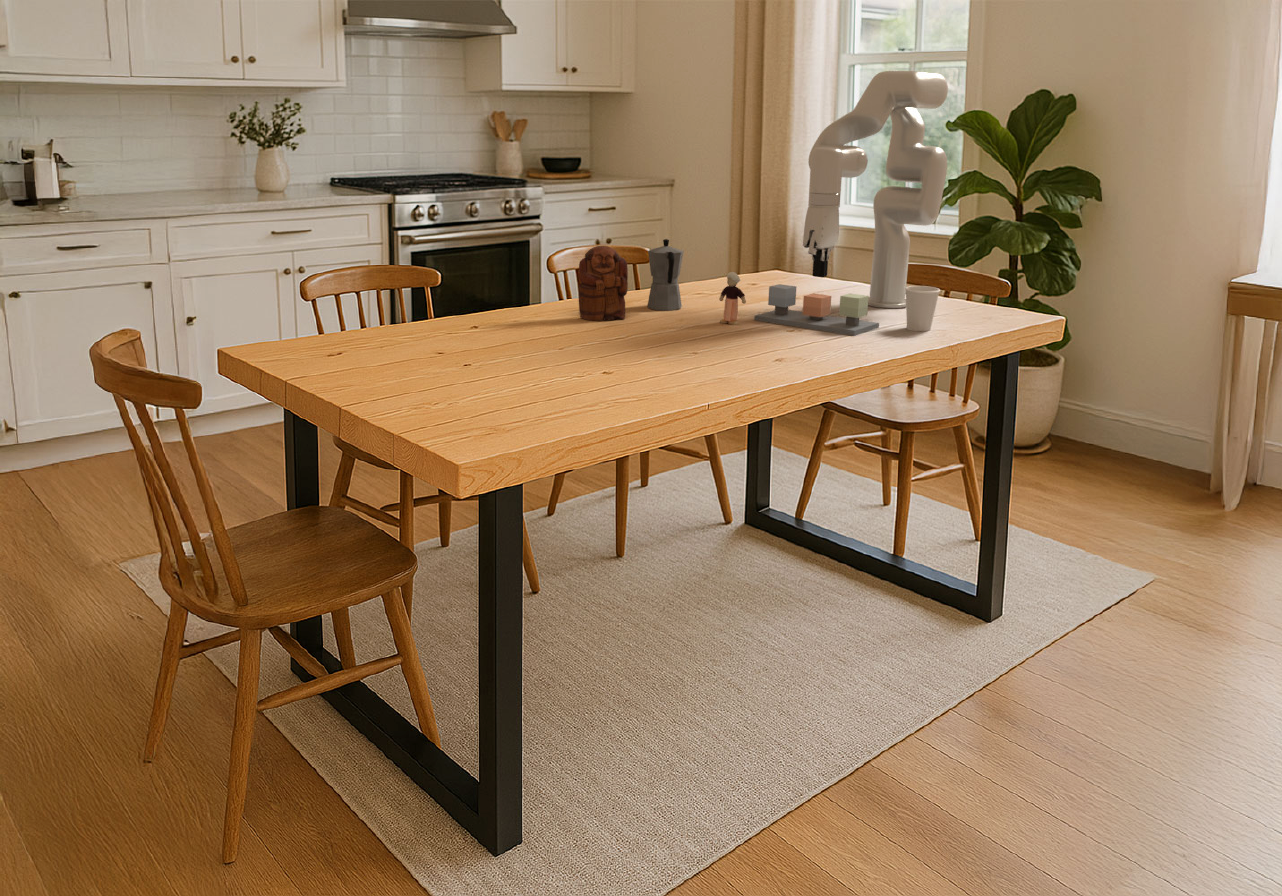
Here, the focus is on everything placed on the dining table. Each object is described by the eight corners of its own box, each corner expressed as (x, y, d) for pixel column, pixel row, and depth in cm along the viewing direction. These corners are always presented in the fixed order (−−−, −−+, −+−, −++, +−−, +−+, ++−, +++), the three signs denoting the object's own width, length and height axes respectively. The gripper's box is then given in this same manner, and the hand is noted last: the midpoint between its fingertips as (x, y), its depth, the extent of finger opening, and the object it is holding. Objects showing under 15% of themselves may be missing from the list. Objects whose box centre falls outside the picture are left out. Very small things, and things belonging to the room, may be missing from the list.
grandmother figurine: (713, 322, 270) (715, 271, 266) (719, 320, 273) (722, 269, 269) (742, 326, 266) (744, 274, 262) (748, 323, 269) (750, 272, 266)
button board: (780, 313, 284) (781, 300, 283) (878, 327, 268) (880, 314, 267) (754, 320, 274) (754, 306, 273) (854, 335, 258) (855, 321, 257)
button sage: (848, 312, 267) (850, 293, 266) (867, 315, 264) (868, 295, 263) (838, 315, 264) (840, 296, 262) (857, 318, 261) (859, 298, 259)
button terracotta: (812, 312, 273) (813, 293, 272) (830, 314, 271) (831, 295, 269) (802, 314, 270) (803, 295, 268) (820, 317, 267) (821, 298, 265)
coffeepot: (642, 303, 294) (644, 236, 288) (677, 303, 295) (679, 236, 290) (652, 314, 279) (654, 243, 274) (688, 313, 281) (690, 243, 275)
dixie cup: (937, 333, 263) (941, 292, 259) (901, 331, 264) (905, 290, 261) (935, 326, 270) (939, 286, 267) (900, 324, 272) (904, 284, 269)
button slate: (778, 302, 279) (779, 284, 277) (795, 304, 276) (796, 286, 275) (768, 305, 275) (769, 286, 274) (785, 307, 272) (786, 288, 271)
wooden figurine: (583, 322, 268) (583, 248, 262) (577, 317, 273) (577, 245, 268) (629, 320, 271) (630, 247, 266) (622, 315, 277) (623, 244, 271)
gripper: (825, 197, 270) (821, 271, 275) (795, 201, 258) (791, 278, 264) (852, 199, 265) (847, 274, 271) (823, 204, 254) (818, 282, 260)
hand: (819, 276), depth 268 cm, fingers closed
